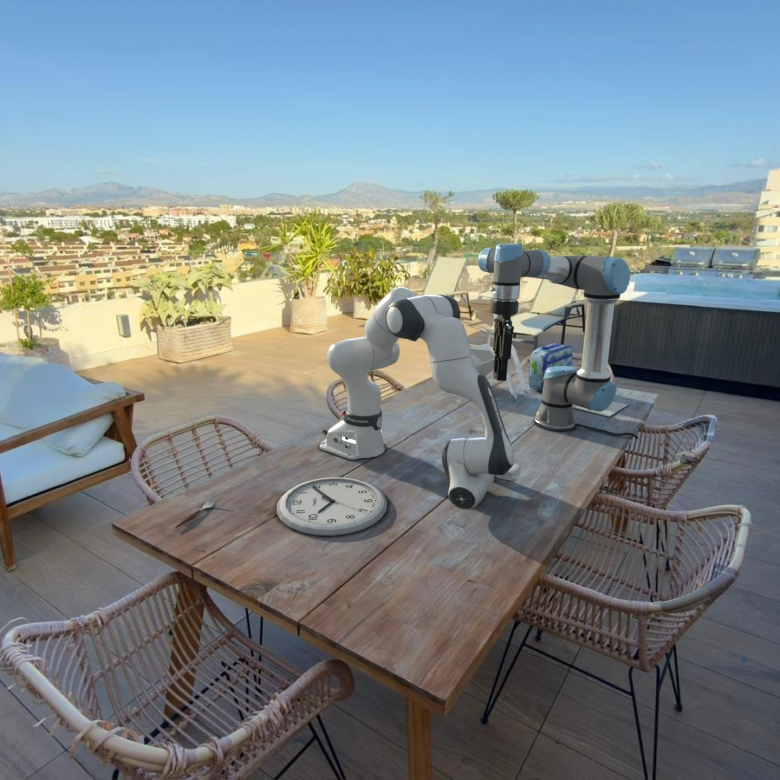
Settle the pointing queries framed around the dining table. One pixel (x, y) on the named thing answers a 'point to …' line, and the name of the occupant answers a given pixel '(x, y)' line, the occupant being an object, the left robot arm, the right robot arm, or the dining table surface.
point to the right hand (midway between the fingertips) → (499, 378)
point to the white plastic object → (485, 364)
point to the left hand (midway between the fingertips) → (491, 456)
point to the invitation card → (609, 411)
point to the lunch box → (547, 362)
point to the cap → (495, 375)
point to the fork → (206, 505)
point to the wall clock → (331, 506)
